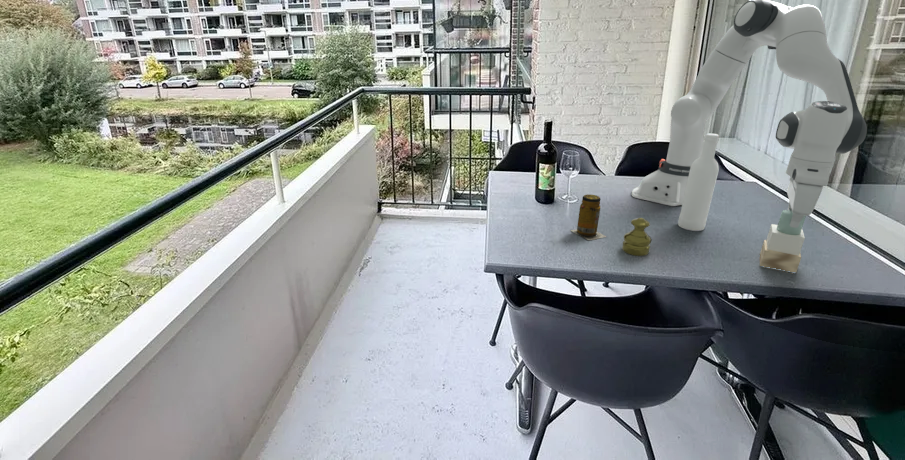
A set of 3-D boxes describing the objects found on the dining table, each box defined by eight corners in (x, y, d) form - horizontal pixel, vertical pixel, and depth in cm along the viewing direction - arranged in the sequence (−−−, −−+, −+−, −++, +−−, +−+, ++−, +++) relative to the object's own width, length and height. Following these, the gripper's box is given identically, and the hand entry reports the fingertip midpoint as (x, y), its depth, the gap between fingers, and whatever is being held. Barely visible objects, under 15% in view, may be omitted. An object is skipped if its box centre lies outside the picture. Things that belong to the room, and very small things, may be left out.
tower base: (759, 266, 123) (764, 250, 121) (759, 255, 130) (764, 239, 128) (795, 274, 120) (801, 257, 118) (793, 262, 126) (798, 246, 124)
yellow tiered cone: (653, 256, 128) (660, 223, 124) (628, 257, 128) (634, 223, 124) (641, 245, 135) (647, 213, 131) (617, 245, 134) (622, 214, 131)
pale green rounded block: (777, 232, 120) (782, 214, 118) (776, 225, 124) (781, 208, 122) (801, 236, 117) (807, 218, 116) (799, 229, 122) (805, 212, 120)
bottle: (704, 224, 150) (727, 133, 138) (704, 233, 144) (727, 138, 132) (678, 220, 154) (698, 130, 142) (676, 228, 147) (697, 135, 136)
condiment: (587, 227, 147) (592, 192, 143) (606, 237, 140) (612, 200, 136) (569, 231, 144) (574, 195, 140) (588, 241, 137) (593, 203, 133)
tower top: (767, 249, 122) (772, 232, 120) (766, 240, 127) (771, 223, 125) (798, 255, 118) (804, 238, 117) (796, 246, 124) (802, 229, 122)
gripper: (790, 159, 124) (775, 206, 129) (796, 177, 108) (779, 230, 113) (818, 162, 121) (802, 211, 126) (830, 181, 105) (810, 236, 110)
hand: (791, 220), depth 120 cm, fingers open, 8 cm apart
